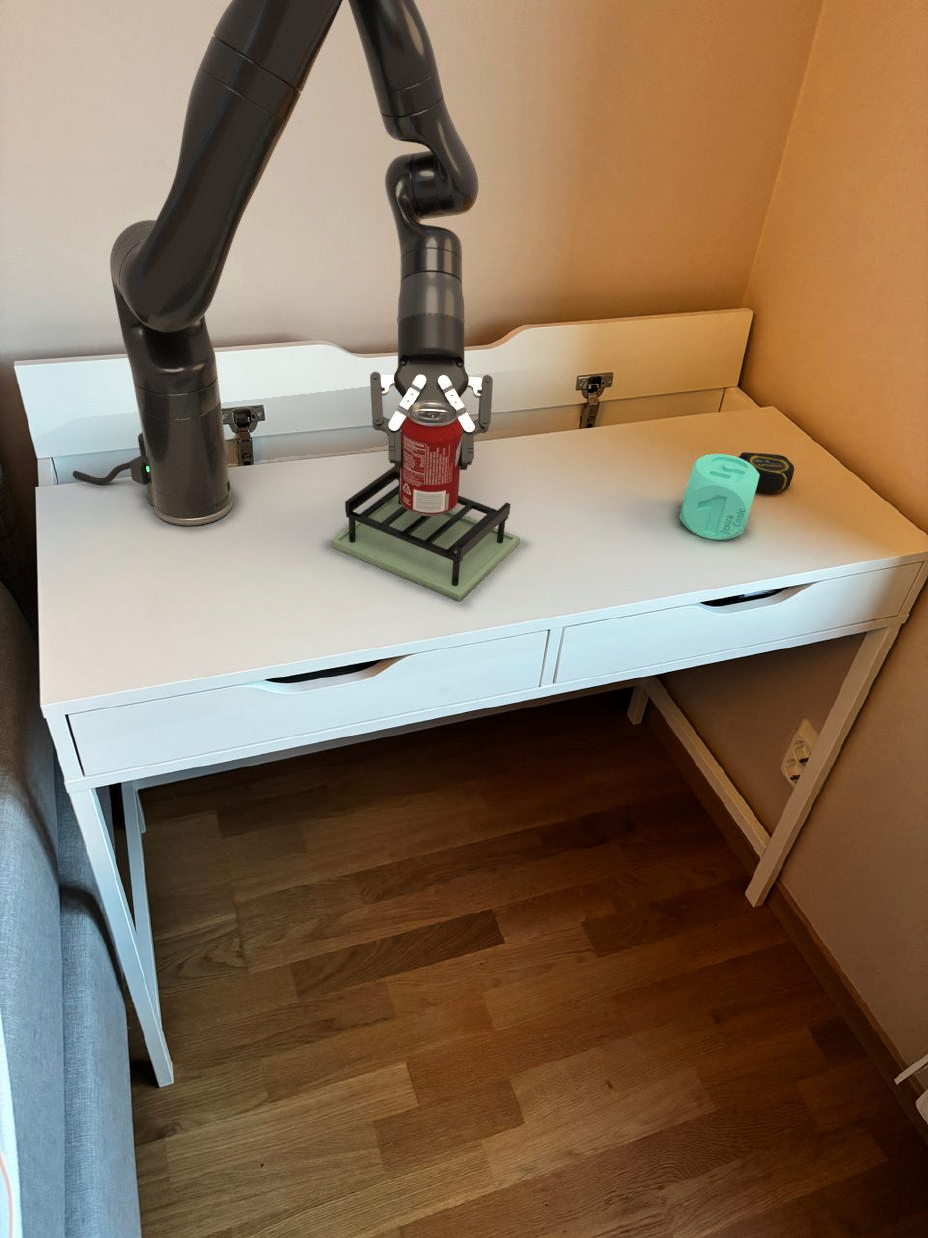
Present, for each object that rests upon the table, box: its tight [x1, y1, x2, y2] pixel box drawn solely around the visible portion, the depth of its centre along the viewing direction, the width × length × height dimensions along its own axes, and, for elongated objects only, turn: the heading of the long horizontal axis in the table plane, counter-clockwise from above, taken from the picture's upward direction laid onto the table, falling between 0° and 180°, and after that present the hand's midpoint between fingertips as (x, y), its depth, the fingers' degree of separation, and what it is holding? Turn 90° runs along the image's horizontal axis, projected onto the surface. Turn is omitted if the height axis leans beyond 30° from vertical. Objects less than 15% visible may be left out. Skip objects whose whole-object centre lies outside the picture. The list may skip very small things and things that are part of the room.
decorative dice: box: [679, 453, 760, 541], centre depth 119 cm, size 8×8×8 cm
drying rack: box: [344, 465, 512, 586], centre depth 111 cm, size 16×11×6 cm
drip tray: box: [330, 494, 521, 603], centre depth 113 cm, size 18×14×1 cm
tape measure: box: [737, 451, 795, 494], centre depth 128 cm, size 7×7×4 cm
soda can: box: [400, 400, 463, 516], centre depth 106 cm, size 7×7×12 cm
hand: (431, 467), depth 105 cm, fingers closed on soda can, 7 cm apart
